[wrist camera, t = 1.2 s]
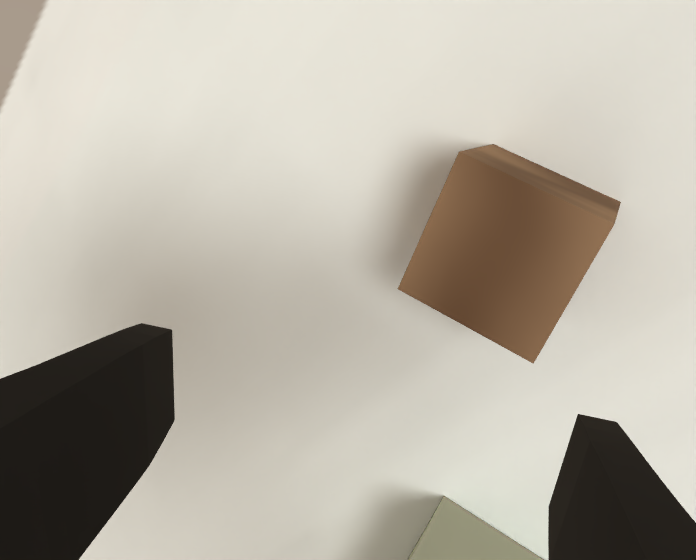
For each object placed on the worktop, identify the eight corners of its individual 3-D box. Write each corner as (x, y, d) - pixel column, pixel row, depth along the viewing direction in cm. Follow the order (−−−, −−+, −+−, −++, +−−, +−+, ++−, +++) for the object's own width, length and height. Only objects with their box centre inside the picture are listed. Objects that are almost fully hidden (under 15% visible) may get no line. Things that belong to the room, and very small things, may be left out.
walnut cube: (620, 201, 20) (614, 223, 16) (554, 317, 22) (533, 363, 18) (493, 144, 21) (459, 151, 17) (440, 258, 23) (397, 288, 19)
